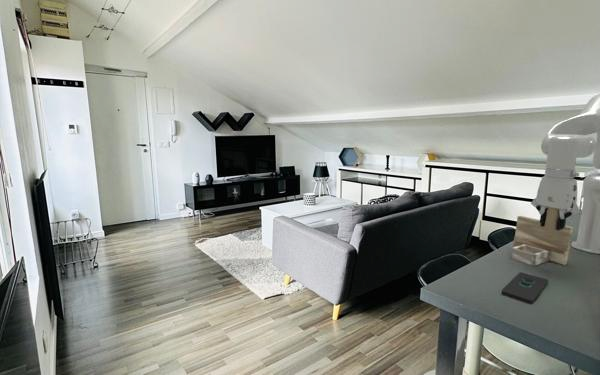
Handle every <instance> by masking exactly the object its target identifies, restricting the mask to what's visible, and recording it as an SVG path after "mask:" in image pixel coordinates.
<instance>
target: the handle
mask: <svg viewBox="0 0 600 375" xmlns="http://www.w3.org/2000/svg"><path fill="white" fill-rule="evenodd" d="M552 199H553V197H548V201H550V202H554V201H552ZM559 218H560V213H559V209H555V208H549V207H548V210H547V215H546V220H545V226H544V227H545V228H544V233H545V235H544V238H545V239H547V240H552V241H555V240H556V238H557V234H558V231H559V230H556V227H557V220H558V219H559Z"/></svg>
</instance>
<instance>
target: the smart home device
mask: <svg viewBox="0 0 600 375" xmlns="http://www.w3.org/2000/svg"><path fill="white" fill-rule="evenodd" d="M548 284H549V280H548V279H547V278H543V277H539V276H535V275H532V274H529V273H525V272H522V271H521V272H518V273H517V274H516V275H515V276H514V277H513V278H512V279H511V280H510V281H509V282H508V283H507V284H506V285H505V286H504V287H503V288H502V289H501V293H500V294H501V295H502V296H504V297H508V298H511V299H514V300H517V301H520V302H523V303H525V304H529V305H532V304H534V303H535V302H536V300H538V299H539V297H540V296H541V293H542V292H543V291H544V289H546V287H547V286H548Z"/></svg>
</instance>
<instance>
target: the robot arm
mask: <svg viewBox="0 0 600 375" xmlns="http://www.w3.org/2000/svg"><path fill="white" fill-rule="evenodd" d="M595 133H596V139H595V138H594V137H593V136H591V135H593V134H595ZM540 150H541V152H542V153H543V154H544V155H545V156H546V162H545V168H544V169H545V171H544V176H542V177H541V180H540V182H539V186H538V188H537V192H536V197H535V198H534V199H533V200H532V201H531V202H530V205H532V207H534V208H535V209H536V210H537V211H538V215H540V219H539V220H540V223H541V225H540V226H542V227H543V226H545V220H546V215H547V210H548V207H549V208H555V209H559V213H560V218H559V219H558V220H557V227H556V230H562V229H563V228H564V227H565V226H566V223H567V219H569V217H572V216H574V215H576V214H579V213H581V215H580V220H579V226H578V232H577V238H576V241H571V243H570V247H572V248H575V250H579V251H583V252H586V253H590V254H598V255H600V173H591V174H588V175H587V176H586V177H585V178H584V179H583V184H582V188H583V200H582V201H583V202H582V206H581V207H582V208H581V209H580V208H579V207H580V206H578V181H577V179H575V177H577V178H578V177H579V176H580V172H577V171H576V162H577V158H578V159H579V158H580V159H584V158H587V157H590V156H591V155H592V154H593V157H592V166H593V168H595V169H596V170H600V94H597V95H594V96H592V97H591V98H590V99H589V100H588V101H587V103H586V104H585V106H584V107H583V108H582V110H581V111H580V112H579V114H578V115H574V116H571V117H569V118H568V119H565V120H563V121H561V122H558V123H556V124H555V125H553V126H552V127H551V128H550V129H549V130H548V132H547V133H546V134H545V136H544V137H543V139H542V141H541V145H540ZM548 197H553V199H552V201H554V202H550V201H548ZM571 209H572V210H571ZM569 210H570V211H569Z"/></svg>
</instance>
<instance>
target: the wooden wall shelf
mask: <svg viewBox="0 0 600 375" xmlns="http://www.w3.org/2000/svg"><path fill="white" fill-rule="evenodd" d="M516 219H517V220H516V226H515V235H514V237H513V247H511V248H510V252H509V259H512V260H515V261H517V262H521V263H523V264H527V265H530V266H533V267H535V266H537V265H540V264H543V263H546V262H548V261H550V262H554V263H557V264H560V265H564V266H566V265H568V260H569V254H570V248H571V244H572V236H573V230H574V226H569V225H565V227H564V228H563V229H562V230H559V231H558V234H557V238H556V240H555V241H552V240H547V239H545V238H544V235H545V233H544V228H545V227H544V226H543V227H542V226H540V225H541V223H540V219H536V218H532V217H528V216H522V215H518V216H517V218H516Z"/></svg>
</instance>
